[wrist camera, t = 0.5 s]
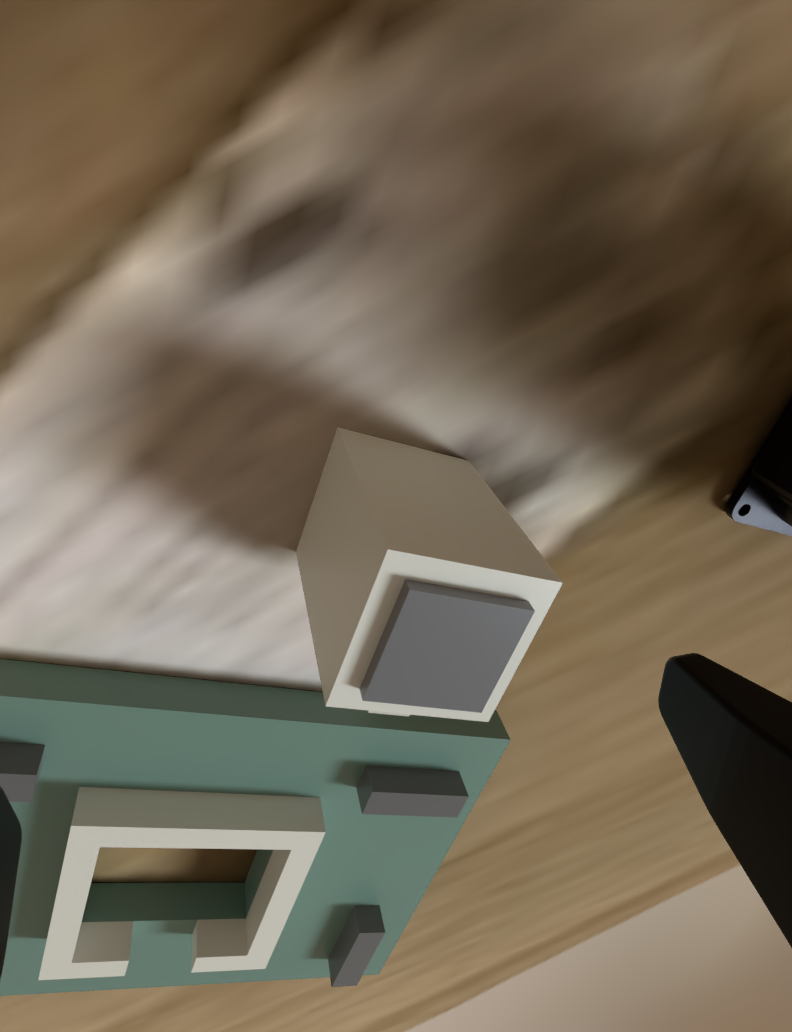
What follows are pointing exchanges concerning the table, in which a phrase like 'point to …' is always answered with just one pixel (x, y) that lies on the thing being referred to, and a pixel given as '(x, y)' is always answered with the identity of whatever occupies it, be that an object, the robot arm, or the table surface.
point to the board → (221, 826)
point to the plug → (416, 582)
